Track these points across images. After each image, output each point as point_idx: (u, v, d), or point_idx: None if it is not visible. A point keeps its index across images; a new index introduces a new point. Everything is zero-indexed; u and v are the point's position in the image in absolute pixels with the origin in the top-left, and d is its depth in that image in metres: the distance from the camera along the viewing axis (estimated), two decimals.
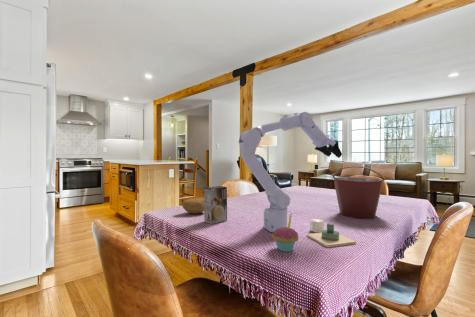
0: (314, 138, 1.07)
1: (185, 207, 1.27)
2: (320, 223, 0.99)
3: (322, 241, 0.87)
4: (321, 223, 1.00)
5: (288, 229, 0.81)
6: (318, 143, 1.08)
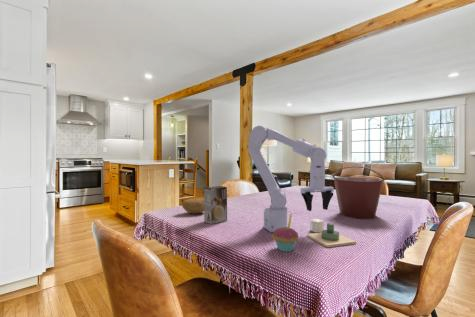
0: None
1: (185, 207, 1.27)
2: (320, 223, 0.99)
3: (322, 241, 0.87)
4: (321, 223, 1.00)
5: (288, 229, 0.81)
6: None
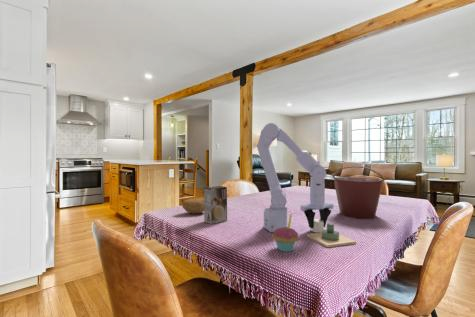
0: None
1: (185, 207, 1.27)
2: (320, 223, 0.99)
3: (322, 241, 0.87)
4: (321, 223, 1.00)
5: (288, 229, 0.81)
6: None
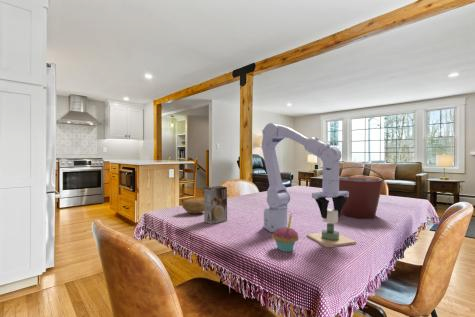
0: None
1: (185, 207, 1.27)
2: (334, 213, 0.88)
3: (322, 241, 0.87)
4: (335, 213, 0.88)
5: (288, 229, 0.81)
6: None
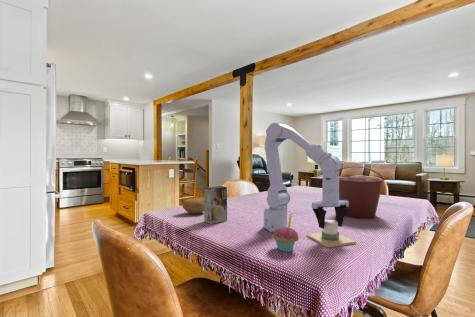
0: None
1: (185, 207, 1.27)
2: (334, 224, 0.88)
3: (322, 241, 0.87)
4: (335, 224, 0.88)
5: (288, 229, 0.81)
6: None
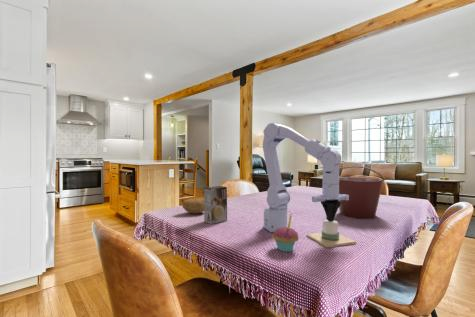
0: None
1: (185, 207, 1.27)
2: (334, 224, 0.88)
3: (322, 241, 0.87)
4: (335, 224, 0.88)
5: (288, 229, 0.81)
6: None
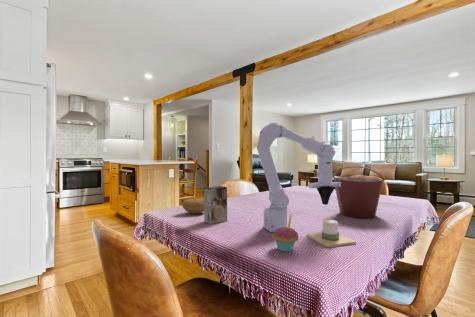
0: None
1: (185, 207, 1.27)
2: (334, 224, 0.88)
3: (322, 241, 0.87)
4: (335, 224, 0.88)
5: (288, 229, 0.81)
6: None
